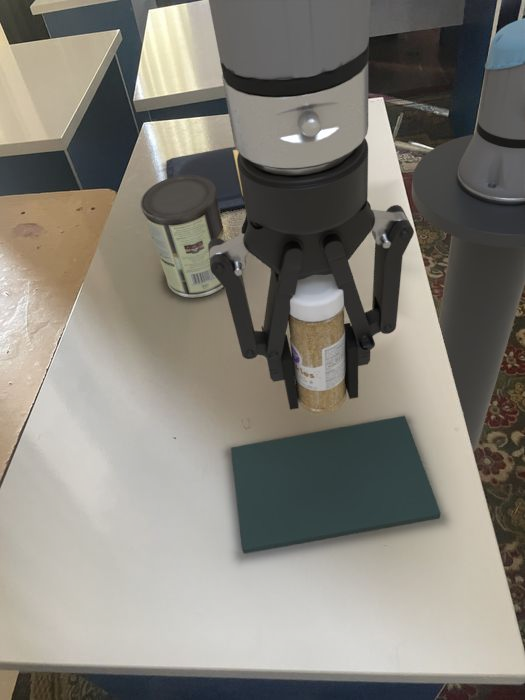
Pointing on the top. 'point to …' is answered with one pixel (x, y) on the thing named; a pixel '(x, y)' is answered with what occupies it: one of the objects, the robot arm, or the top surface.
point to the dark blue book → (213, 174)
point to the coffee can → (185, 231)
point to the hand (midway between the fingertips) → (320, 390)
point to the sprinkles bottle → (318, 343)
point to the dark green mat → (330, 484)
